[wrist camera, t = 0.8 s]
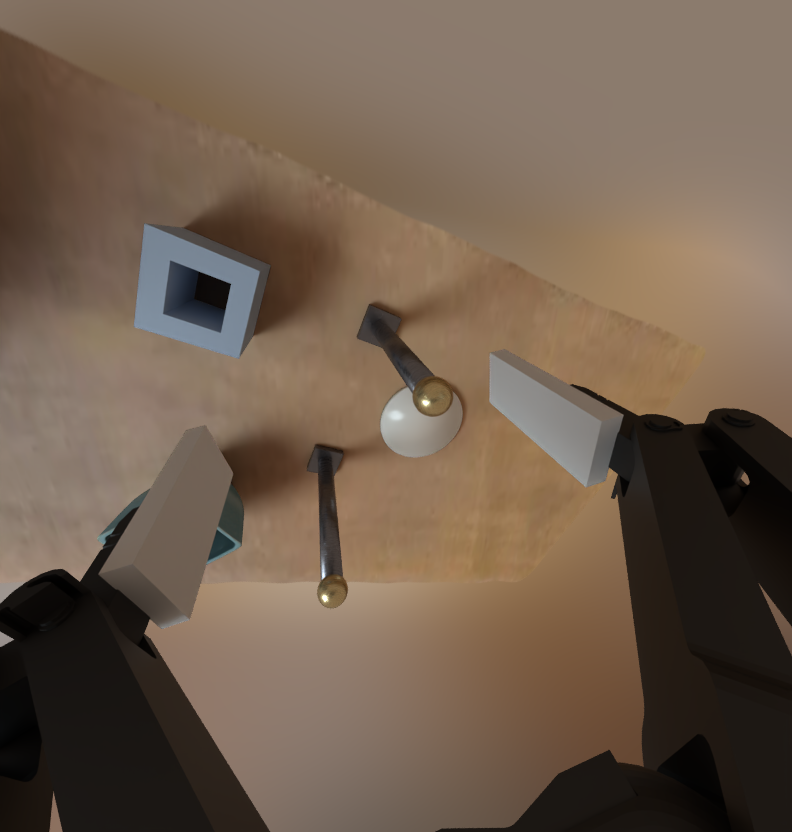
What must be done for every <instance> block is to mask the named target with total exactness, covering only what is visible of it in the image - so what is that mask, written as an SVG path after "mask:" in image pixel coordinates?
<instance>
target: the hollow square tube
mask: <svg viewBox="0 0 792 832" xmlns="http://www.w3.org/2000/svg"><path fill="white" fill-rule="evenodd" d="M270 267H271V265H269V264H267V263H264V262H262V261H259V260H257V259H255V258H252V257H250V256H248V255H245V254H243V253H241V252H238V251H236V250H234V249H231V248H229V247H227V246H224V245H222V244H220V243H217V242H215V241H213V240H210V239H208V238H206V237H203V236H201V235H199V234H196V233H194V232H192V231H189V230H187V229H185V228H180V227H171V226H163V225H154V224H145V223H144V233H143V243H142V253H141V262H140V272H139V282H138V292H137V302H136V311H135V321H134V327H136V328H140V329H143V330H146V331H150V332H153V333H156V334H159V335H163V336H166V337H169V338H172V339H176V340H179V341H182V342H186V343H189V344H192V345H195V346H199V347H202V348H205V349H209V350H212V351H215V352H218V353H222V354H225V355H228V356H231V357H235V358H238V359H239V358H240V356H241V354H242V353H243V351H244V350H245V348H246V347H247V345H248V343H249V342H250V340H251V339H252V337H253V334H254V330H255V326H256V322H257V318H258V314H259V310H260V306H261V302H262V298H263V294H264V290H265V286H266V282H267V278H268V274H269V270H270ZM199 272H202V273H204V274H207V275H209V276H212V277H215V278H217V279H220V280H222V281H225V282H228V283H230V284H231V287H230V292H229V297H228V302H227V306H226V310H224V309H221V308H218V307H215V306H212V305H210V304H207V303H204V302H201V301H198V300H195V299H194V297H195V292H196V286H197V280H198V274H199Z"/></svg>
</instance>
